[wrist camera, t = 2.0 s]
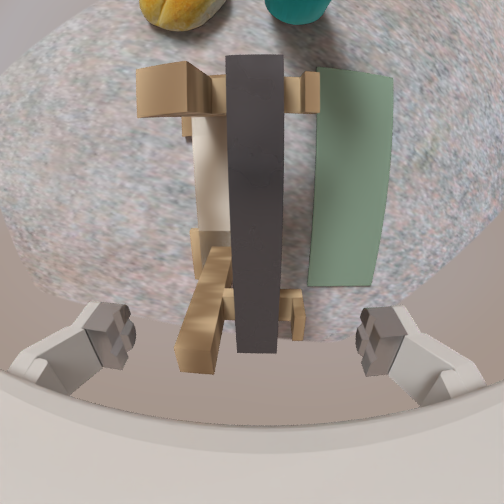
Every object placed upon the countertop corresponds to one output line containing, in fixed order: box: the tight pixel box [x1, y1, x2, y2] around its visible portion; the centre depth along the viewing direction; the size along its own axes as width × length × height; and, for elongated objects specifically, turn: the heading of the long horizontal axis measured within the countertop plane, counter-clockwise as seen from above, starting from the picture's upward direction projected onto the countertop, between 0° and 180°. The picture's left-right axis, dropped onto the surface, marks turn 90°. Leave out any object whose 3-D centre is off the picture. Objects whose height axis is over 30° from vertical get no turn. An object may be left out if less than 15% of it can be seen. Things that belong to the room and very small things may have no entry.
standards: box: [136, 61, 320, 375], centre depth 21 cm, size 11×22×16 cm, turn 1°
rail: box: [226, 55, 284, 353], centre depth 18 cm, size 3×20×3 cm, turn 1°
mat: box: [307, 67, 393, 286], centre depth 28 cm, size 8×24×1 cm, turn 1°
